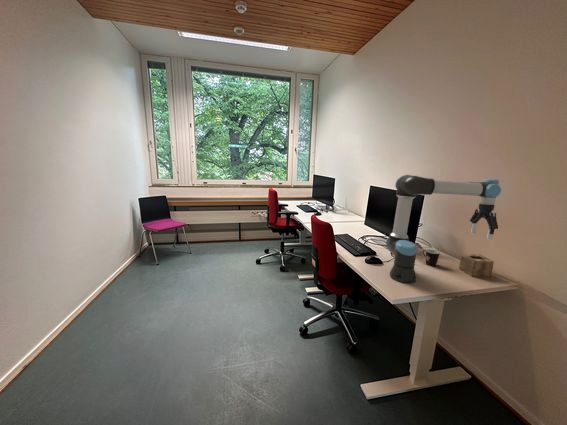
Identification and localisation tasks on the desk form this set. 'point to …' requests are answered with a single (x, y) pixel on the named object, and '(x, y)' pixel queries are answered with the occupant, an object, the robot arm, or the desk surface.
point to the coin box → (476, 265)
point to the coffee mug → (431, 257)
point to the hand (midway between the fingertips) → (480, 235)
